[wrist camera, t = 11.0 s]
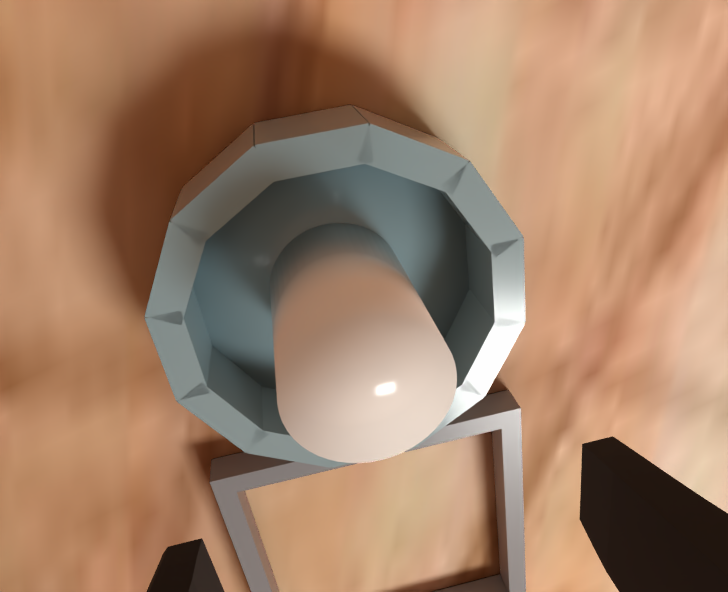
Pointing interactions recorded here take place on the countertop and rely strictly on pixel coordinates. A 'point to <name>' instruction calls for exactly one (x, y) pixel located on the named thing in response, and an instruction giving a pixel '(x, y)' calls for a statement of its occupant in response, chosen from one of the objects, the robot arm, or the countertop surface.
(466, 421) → the empty gray rectangular frame
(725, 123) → the countertop surface
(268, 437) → the bowl
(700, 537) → the robot arm
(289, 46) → the countertop surface
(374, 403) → the pestle
